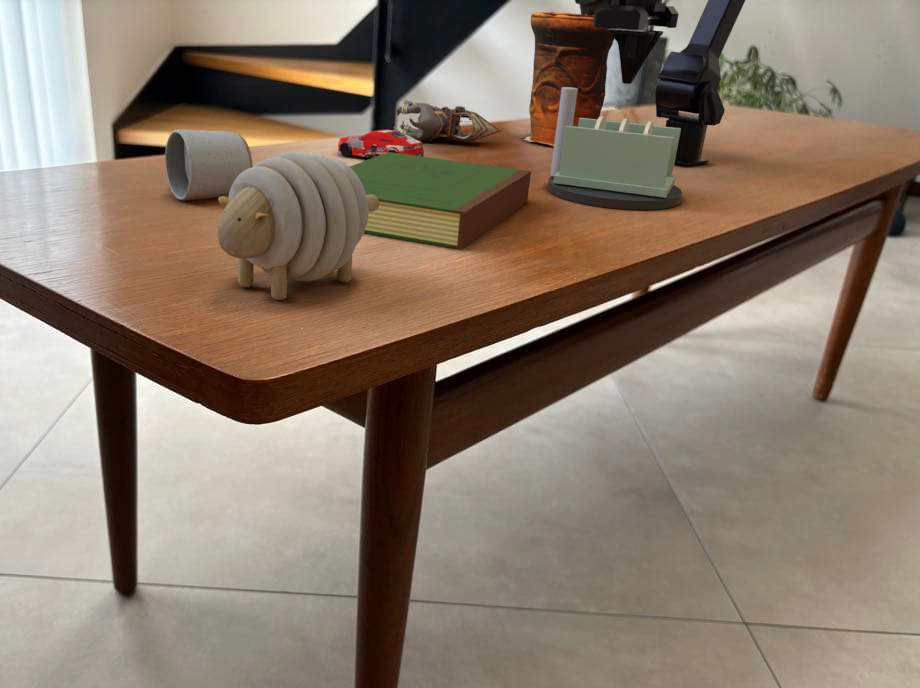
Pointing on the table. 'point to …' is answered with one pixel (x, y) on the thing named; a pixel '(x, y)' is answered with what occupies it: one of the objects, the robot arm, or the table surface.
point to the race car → (379, 144)
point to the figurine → (443, 122)
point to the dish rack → (612, 153)
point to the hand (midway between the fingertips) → (626, 83)
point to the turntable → (614, 197)
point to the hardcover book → (439, 197)
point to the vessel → (566, 69)
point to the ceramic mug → (205, 162)
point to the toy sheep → (294, 219)
